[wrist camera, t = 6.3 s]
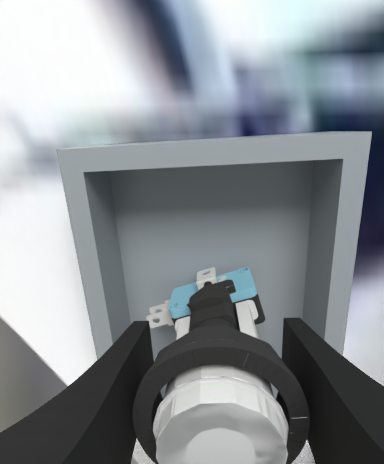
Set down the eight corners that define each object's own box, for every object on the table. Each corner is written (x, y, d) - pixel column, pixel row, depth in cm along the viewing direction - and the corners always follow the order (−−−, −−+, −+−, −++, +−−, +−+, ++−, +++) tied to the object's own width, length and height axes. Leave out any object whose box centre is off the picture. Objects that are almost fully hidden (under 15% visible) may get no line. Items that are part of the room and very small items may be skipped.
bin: (331, 131, 16) (371, 131, 12) (310, 360, 20) (334, 413, 17) (90, 145, 16) (56, 149, 13) (125, 363, 21) (107, 413, 17)
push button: (167, 344, 19) (122, 546, 9) (136, 269, 18) (47, 410, 8) (270, 316, 18) (341, 508, 8) (245, 236, 17) (294, 349, 7)
